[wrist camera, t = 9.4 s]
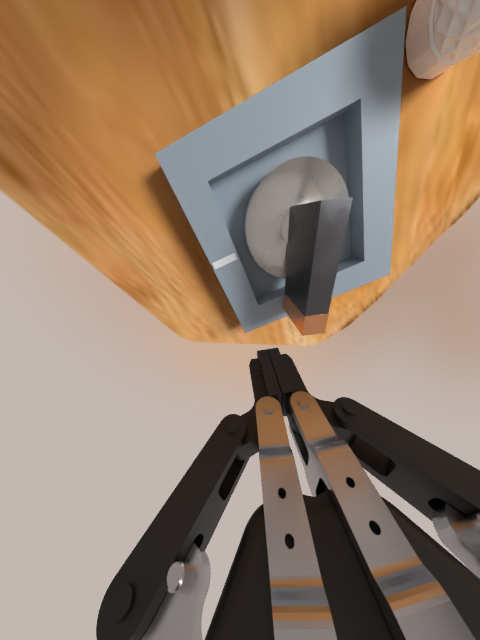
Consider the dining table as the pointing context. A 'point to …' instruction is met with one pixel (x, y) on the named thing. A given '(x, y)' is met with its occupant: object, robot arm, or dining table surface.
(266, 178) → the dial
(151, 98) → the dining table surface
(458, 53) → the white cup
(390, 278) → the dining table surface
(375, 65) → the housing
